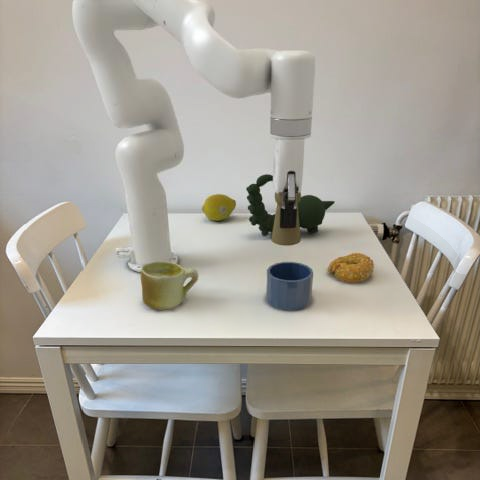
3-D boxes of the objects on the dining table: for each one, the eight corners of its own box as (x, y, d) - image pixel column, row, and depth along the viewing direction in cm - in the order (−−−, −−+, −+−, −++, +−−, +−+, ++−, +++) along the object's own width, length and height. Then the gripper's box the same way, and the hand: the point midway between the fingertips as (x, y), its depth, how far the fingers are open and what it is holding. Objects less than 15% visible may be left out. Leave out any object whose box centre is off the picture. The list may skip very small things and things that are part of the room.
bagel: (334, 263, 123) (336, 245, 121) (377, 271, 119) (380, 253, 116) (321, 278, 116) (322, 260, 113) (366, 288, 111) (369, 269, 109)
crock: (267, 311, 103) (268, 281, 99) (265, 289, 111) (266, 261, 108) (313, 310, 103) (316, 281, 99) (307, 289, 111) (309, 261, 108)
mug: (132, 308, 100) (138, 261, 98) (140, 299, 110) (147, 256, 108) (190, 318, 101) (198, 272, 99) (193, 308, 111) (200, 266, 109)
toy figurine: (255, 249, 135) (340, 235, 138) (249, 182, 125) (341, 168, 128) (248, 236, 143) (329, 223, 146) (242, 173, 133) (329, 160, 136)
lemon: (203, 225, 147) (202, 199, 143) (201, 216, 154) (199, 191, 150) (238, 223, 149) (238, 197, 145) (234, 214, 155) (234, 190, 151)
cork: (299, 246, 96) (302, 192, 91) (269, 244, 98) (270, 190, 92) (302, 235, 102) (305, 183, 96) (273, 233, 103) (274, 182, 97)
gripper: (267, 120, 95) (266, 209, 105) (273, 136, 81) (270, 239, 90) (305, 119, 95) (300, 209, 105) (317, 136, 81) (310, 238, 90)
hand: (286, 222), depth 98 cm, fingers closed on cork, 4 cm apart
